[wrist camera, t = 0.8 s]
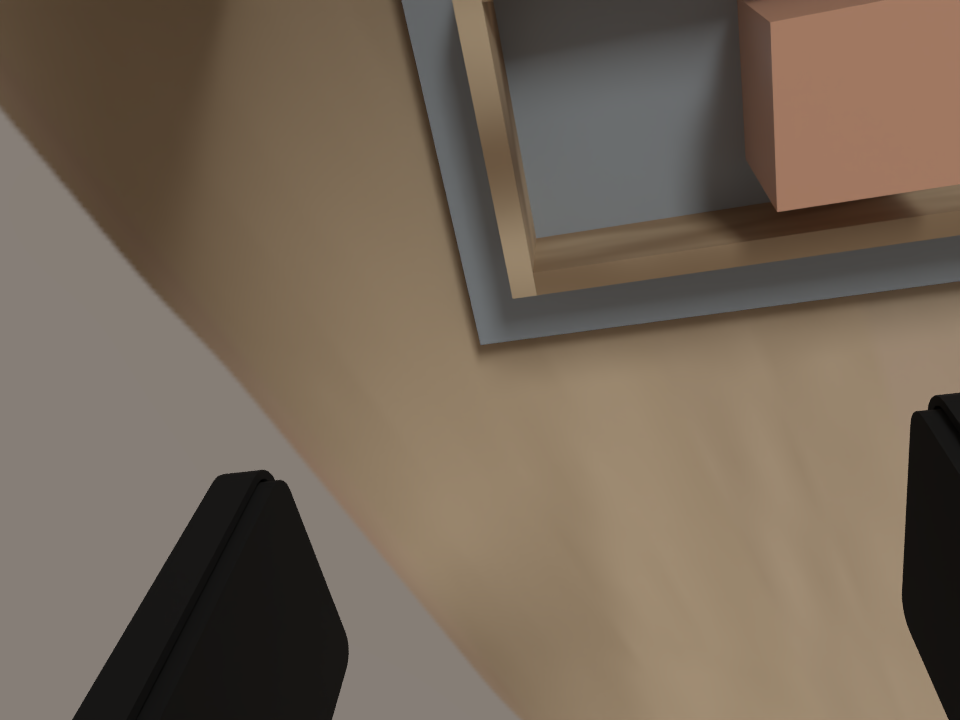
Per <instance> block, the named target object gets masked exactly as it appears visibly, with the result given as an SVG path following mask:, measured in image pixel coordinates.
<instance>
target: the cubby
mask: <svg viewBox="0 0 960 720" xmlns="http://www.w3.org/2000/svg"><path fill="white" fill-rule="evenodd" d="M452 3H453V7H454V12H455V17H456V22H457V27H458V32H459V37H460V42H461V47H462V52H463V57H464V62H465V67H466V71H467V76H468V81H469V86H470V91H471V96H472V101H473V106H474V111H475V116H476V121H477V126H478V130H479V135H480V140H481V145H482V150H483V155H484V160H485V165H486V170H487V175H488V180H489V185H490V190H491V194H492V199H493V204H494V209H495V214H496V219H497V224H498V229H499V234H500V239H501V244H502V249H503V254H504V258H505V263H506V268H507V273H508V278H509V283H510V288H511V293H512V298H513V299H515V298H522V297H529V296H536V295H543V294H550V293H557V292H564V291H572V290H579V289H586V288H593V287H600V286H607V285H614V284H621V283H628V282H635V281H642V280H649V279H656V278H663V277H670V276H677V275H684V274H691V273H698V272H705V271H712V270H719V269H726V268H733V267H740V266H747V265H754V264H761V263H768V262H775V261H782V260H789V259H796V258H803V257H810V256H817V255H824V254H831V253H838V252H845V251H852V250H859V249H866V248H873V247H880V246H887V245H894V244H901V243H908V242H915V241H922V240H929V239H936V238H943V237H951V236H958V235H960V184H958V185H951V186H945V187H938V188H931V189H925V190H918V191H912V192H905V193H899V194H892V195H886V196H879V197H873V198H866V199H859V200H853V201H846V202H840V203H833V204H827V205H820V206H814V207H807V208H800V209H794V210H787V211H781V212H777V211H776V209H775V208H774V206H773V204H772V203H771V202H767V203H761V204H755V205H748V206H742V207H735V208H729V209H722V210H716V211H709V212H703V213H696V214H690V215H684V216H677V217H671V218H664V219H658V220H651V221H645V222H638V223H632V224H625V225H619V226H613V227H606V228H600V229H593V230H587V231H580V232H574V233H567V234H561V235H554V236H548V237H542V238H536V234H535V228H534V223H533V217H532V212H531V206H530V201H529V195H528V190H527V184H526V179H525V173H524V168H523V162H522V157H521V151H520V146H519V140H518V135H517V129H516V124H515V118H514V113H513V107H512V102H511V96H510V91H509V85H508V79H507V74H506V68H505V63H504V57H503V52H502V46H501V41H500V35H499V30H498V24H497V19H496V13H495V8H494V2H493V0H452Z"/></svg>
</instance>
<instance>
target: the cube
mask: <svg viewBox="0 0 960 720" xmlns="http://www.w3.org/2000/svg"><path fill="white" fill-rule="evenodd" d="M737 8H738V27H739V45H740V64H741V83H742V102H743V120H744V139H745V158H746V161H747V162H748V164H749V166H750V167H751V169H752V171H753V173H754V174H755V176H756V178H757V179H758V181H759V183H760V184H761V186H762V188H763V189H764V191H765V193H766V194H767V196H768V198H769V199H770V201H771V203H772V204H773V206H774V208H775V209H776V211H777V212H781V211H787V210H794V209H800V208H807V207H814V206H820V205H827V204H833V203H840V202H846V201H853V200H859V199H866V198H873V197H879V196H886V195H892V194H899V193H905V192H912V191H918V190H925V189H931V188H938V187H945V186H951V185H958V184H960V0H737Z"/></svg>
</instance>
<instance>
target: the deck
mask: <svg viewBox="0 0 960 720" xmlns="http://www.w3.org/2000/svg"><path fill="white" fill-rule="evenodd" d="M493 2H494V8H495V13H496V19H497V24H498V30H499V35H500V41H501V46H502V52H503V57H504V63H505V68H506V74H507V79H508V85H509V91H510V96H511V102H512V107H513V113H514V118H515V124H516V129H517V135H518V140H519V146H520V151H521V157H522V162H523V168H524V173H525V179H526V184H527V190H528V195H529V201H530V206H531V212H532V217H533V223H534V228H535V234H536V238H542V237H548V236H554V235H561V234H567V233H574V232H580V231H587V230H593V229H600V228H606V227H613V226H619V225H625V224H632V223H638V222H645V221H651V220H658V219H664V218H671V217H677V216H684V215H690V214H696V213H703V212H709V211H716V210H722V209H729V208H735V207H742V206H748V205H755V204H761V203H767V202H771V201H770V199H769V198H768V196H767V194H766V193H765V191H764V189H763V188H762V186H761V184H760V183H759V181H758V179H757V178H756V176H755V174H754V173H753V171H752V169H751V167H750V166H749V164H748V162H747V161H746V158H745V139H744V120H743V102H742V83H741V64H740V45H739V27H738V8H737V0H493ZM402 5H403V9H404V13H405V18H406V22H407V26H408V31H409V35H410V39H411V44H412V48H413V52H414V57H415V61H416V65H417V70H418V74H419V79H420V83H421V87H422V92H423V96H424V100H425V105H426V109H427V113H428V118H429V122H430V126H431V131H432V135H433V139H434V144H435V148H436V153H437V157H438V161H439V166H440V170H441V174H442V179H443V183H444V187H445V192H446V196H447V200H448V205H449V209H450V213H451V218H452V222H453V227H454V231H455V235H456V240H457V244H458V248H459V253H460V257H461V261H462V266H463V270H464V274H465V279H466V283H467V287H468V292H469V296H470V301H471V305H472V309H473V314H474V318H475V322H476V327H477V331H478V335H479V340H480V344H481V345H484V344H492V343H499V342H507V341H514V340H522V339H529V338H537V337H544V336H552V335H559V334H567V333H574V332H582V331H589V330H597V329H604V328H612V327H619V326H627V325H634V324H642V323H649V322H657V321H664V320H672V319H679V318H687V317H694V316H702V315H709V314H717V313H724V312H732V311H739V310H747V309H754V308H762V307H769V306H777V305H784V304H792V303H799V302H807V301H814V300H822V299H829V298H837V297H844V296H852V295H859V294H867V293H874V292H882V291H889V290H897V289H904V288H912V287H919V286H927V285H934V284H942V283H949V282H957V281H960V235H958V236H951V237H943V238H936V239H929V240H922V241H915V242H908V243H901V244H894V245H887V246H880V247H873V248H866V249H859V250H852V251H845V252H838V253H831V254H824V255H817V256H810V257H803V258H796V259H789V260H782V261H775V262H768V263H761V264H754V265H747V266H740V267H733V268H726V269H719V270H712V271H705V272H698V273H691V274H684V275H677V276H670V277H663V278H656V279H649V280H642V281H635V282H628V283H621V284H614V285H607V286H600V287H593V288H586V289H579V290H572V291H564V292H557V293H550V294H543V295H536V296H529V297H522V298H515V299H513V298H512V293H511V288H510V283H509V278H508V273H507V268H506V263H505V258H504V254H503V249H502V244H501V239H500V234H499V229H498V224H497V219H496V214H495V209H494V204H493V199H492V194H491V190H490V185H489V180H488V175H487V170H486V165H485V160H484V155H483V150H482V145H481V140H480V135H479V130H478V126H477V121H476V116H475V111H474V106H473V101H472V96H471V91H470V86H469V81H468V76H467V71H466V67H465V62H464V57H463V52H462V47H461V42H460V37H459V32H458V27H457V22H456V17H455V12H454V7H453V3H452V0H402Z"/></svg>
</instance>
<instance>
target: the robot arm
mask: <svg viewBox="0 0 960 720" xmlns="http://www.w3.org/2000/svg"><path fill="white" fill-rule="evenodd" d="M902 603H903V610H904V615H905V619H906V622H907V625H908V628H909V631H910V633H911V635H912V638H913V640H914V642H915V644H916V647H917V649H918V651H919V654H920V656H921V658H922V660H923V663H924V665H925V667H926V669H927V672H928V674H929V676H930V678H931V681H932V683H933V685H934V688H935V690H936V692H937V694H938V697H939V699H940V701H941V703H942V706H943V708H944V710H945V712H946V715H947V717H948V719H949V720H960V393H953V394H944V395H935V396H934V397H932V398H931V400H930V402H929V405H928V410H924V411H916V412H914V413H913V415H912V418H911V425H910V445H909V464H908V484H907V504H906V524H905V544H904V564H903V584H902ZM348 652H349V651H348V640H347V636H346V633H345V630H344V628H343V625H342V622H341V620H340V617H339V615H338V612H337V610H336V607H335V604H334V602H333V599H332V597H331V594H330V592H329V589H328V587H327V584H326V581H325V579H324V576H323V574H322V571H321V568H320V566H319V563H318V561H317V558H316V555H315V553H314V550H313V548H312V545H311V543H310V540H309V537H308V535H307V532H306V530H305V527H304V525H303V522H302V519H301V517H300V514H299V512H298V509H297V507H296V504H295V501H294V499H293V497H292V494H291V491H290V489H289V487H288V485H287V484H286V483H285V482H284V481H282V480H276V481H275V480H274V477H273V476H272V475H271V474H270V473H269V472H268V471H266V470H258V471H248V472H240V473H230V474H223V475H220V476H218V477H217V478H216V479H215V480H214V482H213V483H212V485H211V486H210V488H209V490H208V491H207V493H206V495H205V496H204V498H203V500H202V502H201V503H200V505H199V507H198V508H197V510H196V512H195V513H194V515H193V517H192V519H191V520H190V522H189V524H188V526H187V527H186V528H185V530H184V532H183V534H182V535H181V537H180V539H179V540H178V542H177V544H176V546H175V547H174V549H173V551H172V552H171V554H170V556H169V557H168V559H167V561H166V562H165V564H164V566H163V567H162V569H161V571H160V572H159V574H158V576H157V577H156V579H155V581H154V583H153V584H152V586H151V588H150V589H149V591H148V593H147V595H146V596H145V598H144V600H143V601H142V603H141V604H140V606H139V608H138V610H137V611H136V613H135V615H134V616H133V618H132V620H131V622H130V623H129V625H128V626H127V628H126V630H125V632H124V633H123V635H122V637H121V638H120V640H119V642H118V643H117V645H116V647H115V648H114V650H113V652H112V654H111V655H110V657H109V659H108V660H107V662H106V664H105V665H104V667H103V669H102V670H101V672H100V674H99V675H98V677H97V679H96V681H95V682H94V684H93V686H92V687H91V689H90V691H89V692H88V694H87V696H86V697H85V699H84V701H83V702H82V704H81V706H80V708H79V709H78V711H77V713H76V714H75V716H74V718H73V719H72V720H332V717H333V714H334V710H335V707H336V703H337V699H338V696H339V693H340V689H341V686H342V682H343V678H344V675H345V672H346V668H347V663H348V655H349V653H348Z"/></svg>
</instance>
